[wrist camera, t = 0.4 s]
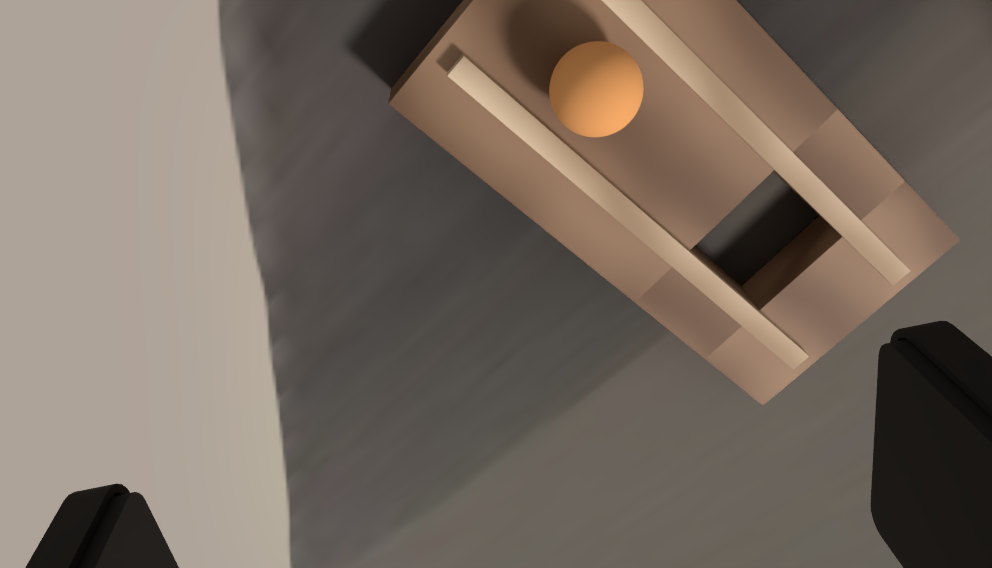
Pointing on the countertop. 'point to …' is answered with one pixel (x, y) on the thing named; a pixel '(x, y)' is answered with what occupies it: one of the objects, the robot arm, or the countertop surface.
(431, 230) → the countertop surface
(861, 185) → the runway
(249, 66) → the countertop surface
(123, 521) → the robot arm
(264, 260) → the countertop surface
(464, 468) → the countertop surface
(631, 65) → the ball
